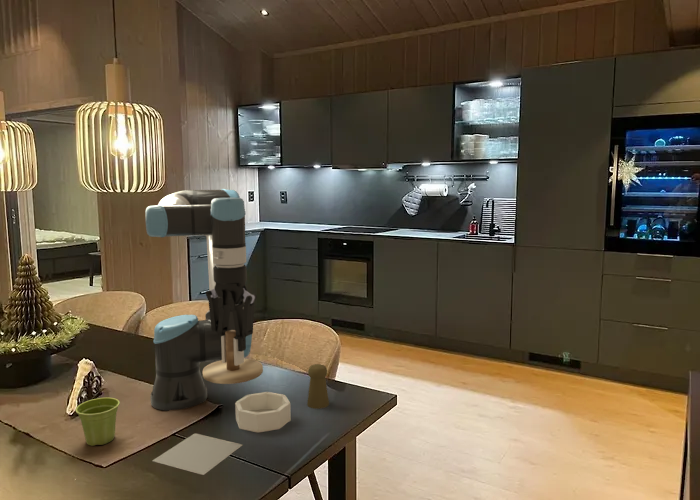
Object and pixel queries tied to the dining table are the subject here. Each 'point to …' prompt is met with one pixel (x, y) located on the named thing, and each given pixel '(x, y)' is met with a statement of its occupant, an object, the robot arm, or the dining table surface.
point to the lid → (232, 366)
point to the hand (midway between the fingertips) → (233, 362)
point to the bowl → (262, 412)
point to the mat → (198, 453)
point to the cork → (317, 387)
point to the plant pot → (98, 420)
